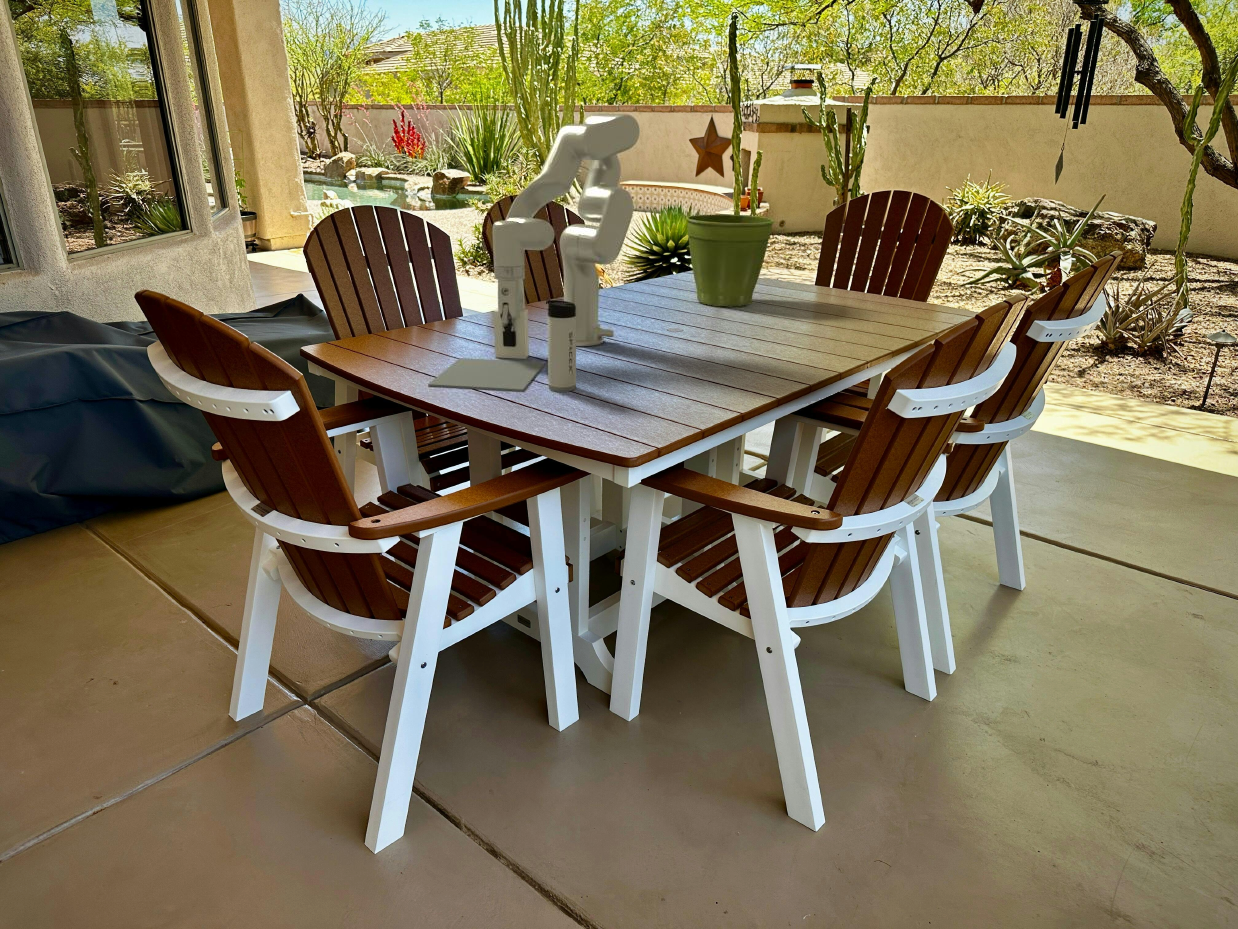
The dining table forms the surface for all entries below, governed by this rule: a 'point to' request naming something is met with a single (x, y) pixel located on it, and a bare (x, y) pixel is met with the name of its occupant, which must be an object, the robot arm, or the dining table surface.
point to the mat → (488, 374)
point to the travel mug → (561, 345)
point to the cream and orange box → (521, 337)
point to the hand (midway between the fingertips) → (512, 343)
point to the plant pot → (727, 256)
